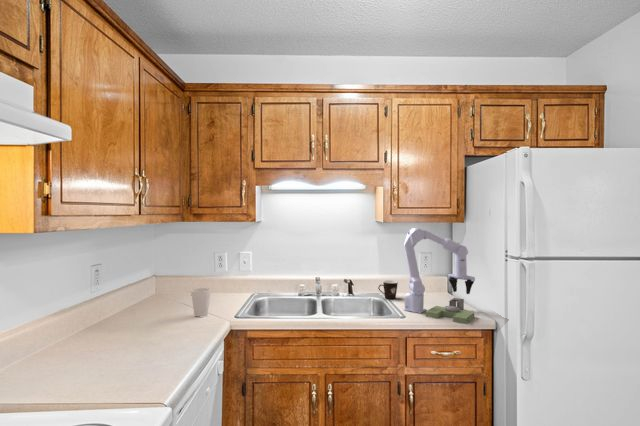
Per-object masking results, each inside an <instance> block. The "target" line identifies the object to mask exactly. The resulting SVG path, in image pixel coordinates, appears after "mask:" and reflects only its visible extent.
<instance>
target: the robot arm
mask: <svg viewBox="0 0 640 426" xmlns="http://www.w3.org/2000/svg"><path fill="white" fill-rule="evenodd" d="M422 240H430V241H433V242H434V243H437V244H440V245H441V248H442V249H444V250H446V251H448V252H450V253H453V254H454V265H455V267H454V268H455V269H454V270H455V272H454V273H449V274H447V278H448V282H449V283H450V285H451V288H452V290H453V293H455V292H456V293H457V289H458V286H457V285H458V280H464V284H465V289H466V290H465V293H466V295H470V293H471V291H472V286H473V285H474V283H475V281H476V277H475V276H472V275H471V276H470V275H468V270H467V269H468V268H467V264H468V263H467V255H468V254H469V250H468V248H467V247H466V246H465V245H462V244H461V243H460V242H455V241H454V240H453V239H452V238H450V237H449V238H447V237H446V238H443V237H440V236H438V235H436V234H434V233H432V232H431V231H428V230H424V229H421V228H417V227H412V228H410V229H409V230H408V231H407V233H406V237H405V240H404V243H403V248H404V253H405V258H406V263H407V269H408V273H409V283H408V286H409V287H408V288H409V290H410V292H406V294H405V295H404V308H403V310H404V311H405V312H412V313H418V314H421V313H423V312H426V311H427V308H425V307H424V299H425V298H424V296H425V295H424V293H425V290H426V288H425V285H424V284H423V282H422V281H423V280H422V279H421V276H420V272H419V266H418V261H417V256H416V251H415V247H416V245H417V244H418V243H419V242H421V241H422Z"/></svg>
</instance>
